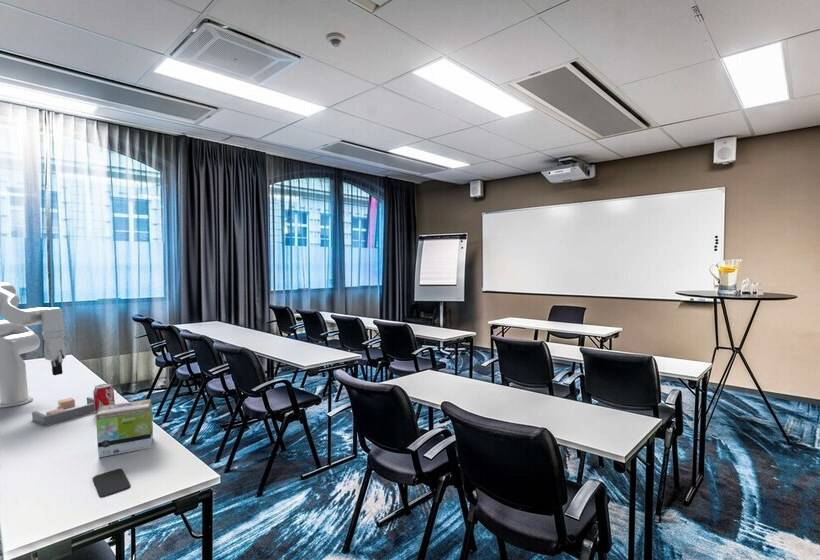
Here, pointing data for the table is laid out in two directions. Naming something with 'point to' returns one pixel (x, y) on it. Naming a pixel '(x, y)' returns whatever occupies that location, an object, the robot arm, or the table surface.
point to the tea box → (124, 427)
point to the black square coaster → (111, 482)
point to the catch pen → (64, 413)
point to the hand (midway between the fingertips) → (57, 374)
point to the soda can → (103, 396)
